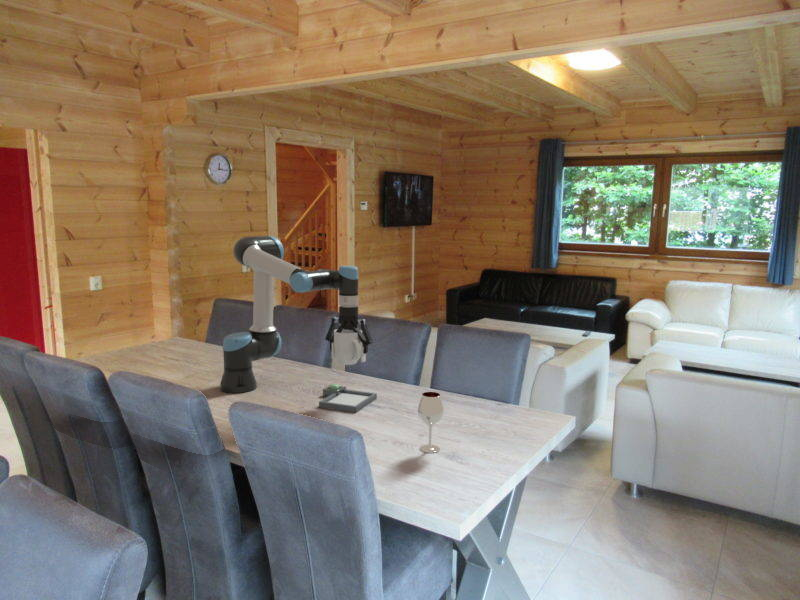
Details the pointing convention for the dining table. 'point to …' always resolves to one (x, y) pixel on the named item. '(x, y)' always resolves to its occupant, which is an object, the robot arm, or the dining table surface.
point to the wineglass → (430, 415)
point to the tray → (348, 400)
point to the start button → (334, 386)
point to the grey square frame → (333, 391)
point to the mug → (347, 347)
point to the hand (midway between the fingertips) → (348, 360)
